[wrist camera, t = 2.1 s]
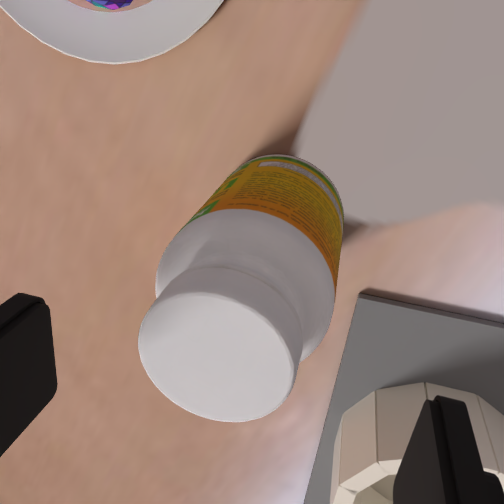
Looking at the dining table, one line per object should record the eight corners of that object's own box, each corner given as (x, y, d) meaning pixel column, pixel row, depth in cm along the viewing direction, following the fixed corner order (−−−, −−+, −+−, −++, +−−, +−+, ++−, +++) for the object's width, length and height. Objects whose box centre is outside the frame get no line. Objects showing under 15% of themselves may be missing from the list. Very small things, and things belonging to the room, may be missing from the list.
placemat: (358, 293, 20) (358, 297, 20) (656, 355, 18) (661, 362, 18) (296, 531, 28) (295, 537, 28) (495, 589, 27) (497, 597, 26)
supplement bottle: (242, 130, 18) (132, 223, 10) (367, 182, 18) (368, 325, 9) (205, 241, 21) (92, 391, 12) (313, 287, 20) (276, 473, 12)
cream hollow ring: (356, 365, 21) (354, 434, 18) (550, 411, 20) (590, 495, 16) (323, 482, 25) (316, 556, 22) (483, 525, 24) (503, 613, 21)
